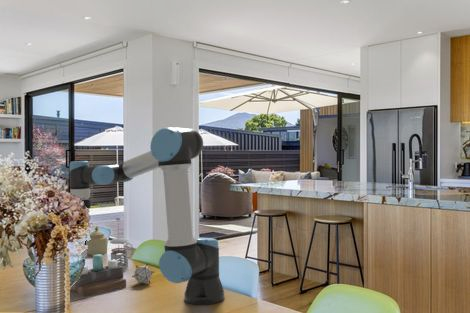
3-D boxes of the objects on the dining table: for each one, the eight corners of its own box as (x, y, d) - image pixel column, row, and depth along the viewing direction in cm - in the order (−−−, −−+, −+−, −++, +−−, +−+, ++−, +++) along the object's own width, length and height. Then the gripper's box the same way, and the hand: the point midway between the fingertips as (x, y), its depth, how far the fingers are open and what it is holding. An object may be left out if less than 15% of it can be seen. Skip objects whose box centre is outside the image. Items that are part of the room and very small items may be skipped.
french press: (107, 268, 224) (105, 217, 223) (131, 265, 229) (129, 215, 228) (110, 273, 215) (109, 219, 214) (135, 270, 220) (134, 217, 219)
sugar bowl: (79, 252, 261) (78, 225, 261) (97, 248, 269) (96, 223, 269) (93, 256, 251) (92, 228, 250) (111, 252, 259) (110, 225, 258)
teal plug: (104, 269, 193) (104, 255, 193) (95, 271, 190) (95, 257, 190) (100, 268, 196) (100, 253, 196) (91, 269, 193) (90, 255, 193)
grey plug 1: (89, 281, 189) (89, 266, 189) (80, 283, 186) (79, 268, 186) (85, 279, 192) (85, 264, 192) (76, 281, 189) (75, 266, 189)
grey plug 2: (119, 274, 197) (118, 260, 197) (110, 276, 195) (110, 262, 194) (115, 273, 200) (114, 259, 200) (106, 274, 198) (105, 260, 197)
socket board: (127, 286, 194) (127, 268, 194) (82, 296, 182) (82, 277, 181) (112, 279, 205) (112, 262, 205) (69, 289, 192) (68, 271, 192)
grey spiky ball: (138, 293, 197) (123, 274, 197) (150, 280, 204) (136, 263, 204) (150, 285, 192) (135, 267, 192) (162, 273, 199) (147, 255, 199)
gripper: (96, 199, 186) (98, 257, 186) (83, 197, 196) (85, 253, 196) (77, 200, 181) (80, 261, 181) (65, 199, 191) (67, 256, 191)
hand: (83, 257), depth 188 cm, fingers closed
